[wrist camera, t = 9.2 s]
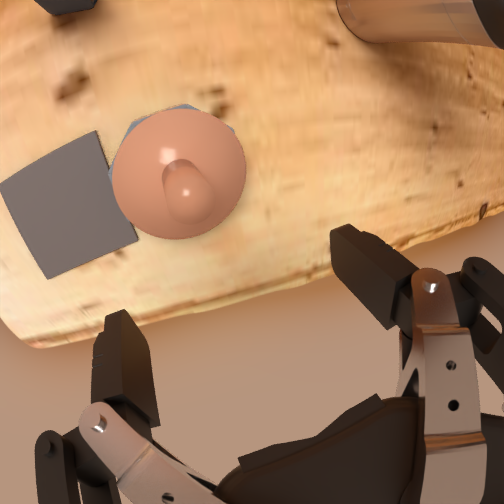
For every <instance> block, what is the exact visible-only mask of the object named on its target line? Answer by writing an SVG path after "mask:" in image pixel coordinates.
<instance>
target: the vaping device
mask: <svg viewBox="0 0 504 504" xmlns="http://www.w3.org/2000/svg"><path fill="white" fill-rule="evenodd" d="M34 1H35V2H37V3H38V4H39V5H40V6H41V7H43V8H44V9H45V10H46V11H47V12H48V13H50V14H55V15H61V14H66V13H71V12H76V11H82V10H88V9H91V8H93V7H94V5H95V4H96V2H97V0H34Z"/></svg>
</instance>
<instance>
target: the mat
mask: <svg viewBox="0 0 504 504" xmlns="http://www.w3.org/2000/svg"><path fill="white" fill-rule="evenodd" d="M108 172H109V166H108V164H107V161H106V158H105V156H104V153H103V150H102V147H101V144H100V141H99V138H98V135H97V133H96V130H95V131H93V132H90V133H88V134H86V135H84V136H82V137H80V138H78V139H76V140H74V141H72V142H70V143H68V144H66V145H64V146H62V147H60V148H58V149H56V150H54V151H53V152H51V153H49V154H47V155H45V156H44V157H42V158H40V159H38V160H37V161H35V162H33V163H32V164H30V165H28V166H27V167H25V168H23V169H22V170H20V171H18V172H17V173H15V174H14V175H12V176H11V177H9V178H8V179H6V180H5V181H3V182H2V183H0V192H1V195H2V197H3V199H4V201H5V204H6V206H7V208H8V210H9V212H10V214H11V216H12V218H13V220H14V222H15V224H16V226H17V228H18V230H19V232H20V234H21V236H22V238H23V240H24V241H25V243H26V245H27V247H28V249H29V250H30V252H31V254H32V255H33V257H34V259H35V261H36V262H37V264H38V266H39V267H40V269H41V270H42V272H43V274H44V275H45V277H46V278H47V280H48V279H50V278H52V277H55V276H57V275H59V274H61V273H63V272H65V271H68V270H70V269H72V268H74V267H77V266H79V265H81V264H83V263H86V262H88V261H90V260H93V259H95V258H97V257H100V256H102V255H104V254H107V253H109V252H111V251H114V250H116V249H119V248H121V247H124V246H126V245H128V244H131V243H133V242H136V241H138V236H137V234H136V232H135V230H134V228H133V225H132V223H131V222H129V221H128V220H127V219H126V217H125V215H124V214H123V212H122V211H121V209H120V207H119V205H118V203H117V201H116V198H115V195H114V191H113V186H112V183H111V181H110V178H109V176H108Z"/></svg>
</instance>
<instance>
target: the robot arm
mask: <svg viewBox="0 0 504 504" xmlns="http://www.w3.org/2000/svg"><path fill="white" fill-rule="evenodd" d="M336 1H337V7H338V10H339V13H340V16H341V17H342V19H343V21H344V23H345V24H346V25H347V27H348V28H349V29H350V30H351V31H352V32H353V33H354V34H355V35H356V36H358V37H359V38H360V39H362V40H364V41H367V42H370V43H388V42H443V43H458V44H469V45H479V46H486V47H493V48H499V49H503V50H504V0H336ZM330 248H331V263H332V267H333V270H334V272H335V274H336V275H337V277H338V278H339V279H340V280H341V281H342V282H343V283H344V284H345V285H346V286H347V287H348V289H349V290H350V291H351V292H352V293H353V294H354V295H355V296H356V297H357V298H358V299H359V300H360V301H361V303H362V304H363V305H364V306H365V307H366V308H367V309H368V310H369V311H370V312H371V313H372V314H373V315H374V317H375V318H376V319H377V320H378V321H379V322H380V323H381V324H382V325H383V327H385V329H386V330H389V329H390V328H392V327H393V326H395V325H398V326H399V328H400V332H399V380H398V385H397V389H396V396H395V397H392V398H387V399H383V400H381V399H380V398H379V396H378V395H377V394H374V395H373V396H371V397H369V398H368V399H366V400H364V401H363V402H361V403H359V404H357V405H356V406H354V407H352V408H350V409H348V410H347V411H345V412H344V413H343V414H342V415H340V416H339V417H338V418H337V419H336V420H335V421H334V422H333V423H331V424H330V425H329V426H328V427H326V428H325V429H324V430H323V431H322V432H320V433H319V434H318V435H317V436H314V437H312V438H308V439H303V440H297V441H293V442H287V443H281V444H274V445H271V446H269V447H266V448H263V449H261V450H258V451H255V452H252V453H250V454H247V455H244V456H241V457H238V460H239V463H240V465H239V466H238V467H236V468H235V469H233V470H232V471H231V472H230V473H228V474H227V475H226V476H225V477H224V478H223V479H222V481H221V482H220V483H219V485H218V484H216V483H215V482H213V481H211V480H210V479H208V478H206V477H205V476H203V475H202V474H200V473H199V472H197V471H195V470H194V469H192V468H191V467H189V466H188V465H187V464H185V463H184V462H182V461H181V460H180V459H178V458H177V457H176V456H175V455H173V454H172V453H171V452H169V451H168V450H167V449H166V448H165V447H163V446H162V445H161V444H160V443H158V442H157V441H156V440H155V439H153V438H152V434H151V428H153V427H157V426H160V419H159V414H158V408H157V401H156V395H155V388H154V382H153V374H152V367H151V358H150V350H149V346H148V343H147V341H146V339H145V337H144V335H143V334H142V333H141V331H140V330H139V328H138V327H137V325H136V324H135V322H134V321H133V319H132V318H131V316H130V315H129V313H128V312H127V311H126V310H125V309H122V310H120V311H117V312H114V313H112V314H109V315H107V316H106V317H105V324H104V331H103V332H101V333H99V334H98V336H97V338H96V341H95V343H94V346H93V360H92V367H93V369H92V381H91V405H89V406H88V407H87V408H86V409H85V410H84V411H83V413H82V414H81V416H80V419H79V426H78V427H76V428H75V429H73V430H71V431H70V432H68V433H66V434H65V435H63V436H61V435H59V434H58V433H56V432H55V431H52V430H48V431H45V432H43V433H42V434H41V435H40V436H39V437H38V439H37V441H36V444H35V469H36V485H37V494H38V503H39V504H81V501H80V495H79V489H78V483H77V482H79V483H80V489H81V495H82V500H83V504H121V499H120V495H119V492H118V488H119V489H120V490H121V491H122V493H123V494H124V495H125V496H126V497H127V498H128V499H130V501H131V502H132V503H133V504H504V417H502V416H496V415H491V414H485V413H480V401H479V389H478V380H477V372H476V364H475V359H476V360H477V361H478V363H479V364H480V365H481V366H482V367H483V369H484V370H485V371H486V372H487V374H488V375H489V376H490V377H491V378H492V380H493V381H494V382H495V384H496V385H497V386H498V388H499V389H500V390H501V392H502V393H503V394H504V274H502V273H501V272H500V271H499V270H498V269H497V268H495V267H494V266H493V265H492V264H491V263H489V262H488V261H486V260H484V259H483V258H479V257H469V258H467V259H466V260H465V261H464V263H463V266H462V269H461V271H459V272H455V273H451V274H447V275H445V274H444V273H442V272H441V271H438V270H437V269H433V268H422V269H419V268H418V267H416V266H415V265H414V264H413V263H411V262H410V261H409V260H408V259H406V258H405V257H404V256H403V255H401V254H400V253H399V252H398V251H396V250H395V249H394V250H393V248H392V247H391V246H390V245H388V244H386V243H385V242H384V241H383V240H382V239H380V238H379V237H378V236H376V235H374V234H371V233H368V232H365V231H363V232H360V231H359V230H358V229H356V228H355V227H354V226H352V225H351V224H346V225H343V226H340V227H338V228H335V229H333V230H331V231H330ZM483 305H484V306H485V307H486V308H487V309H488V310H489V311H490V312H491V313H492V314H493V315H494V316H495V317H496V318H497V319H498V320H499V322H500V323H501V325H502V334H500V333H499V331H497V329H496V328H495V327H494V326H493V325H492V324H491V323H490V322H489V321H488V320H487V319H486V318H485V317H484V316H483V315H482V314H481V313H480V312H481V310H482V307H483ZM502 410H503V412H504V402H503V405H502ZM115 477H117V479H118V481H117V482H116V478H115ZM117 486H118V487H117Z"/></svg>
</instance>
